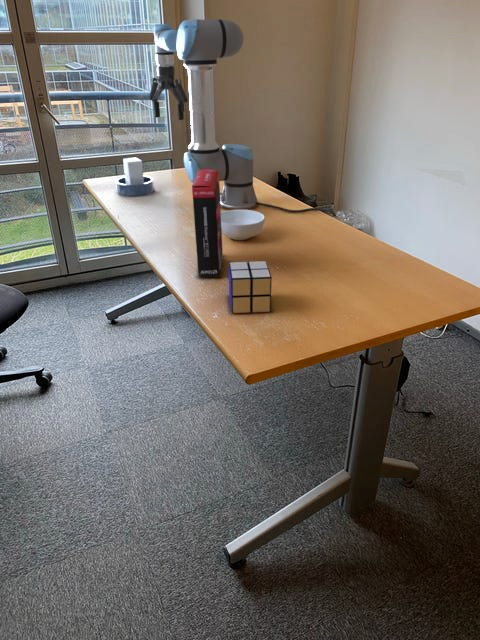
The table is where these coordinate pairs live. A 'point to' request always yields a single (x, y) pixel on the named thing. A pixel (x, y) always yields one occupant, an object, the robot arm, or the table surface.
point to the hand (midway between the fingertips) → (169, 118)
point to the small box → (133, 171)
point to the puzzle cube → (249, 287)
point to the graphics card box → (207, 222)
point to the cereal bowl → (241, 223)
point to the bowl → (135, 187)
